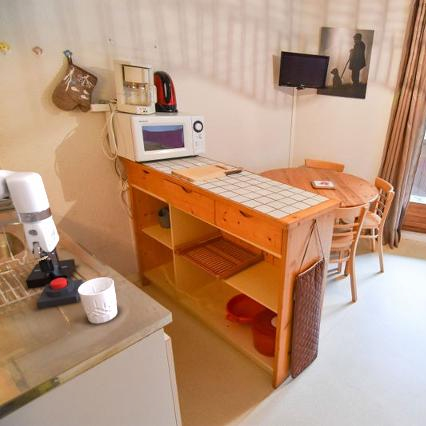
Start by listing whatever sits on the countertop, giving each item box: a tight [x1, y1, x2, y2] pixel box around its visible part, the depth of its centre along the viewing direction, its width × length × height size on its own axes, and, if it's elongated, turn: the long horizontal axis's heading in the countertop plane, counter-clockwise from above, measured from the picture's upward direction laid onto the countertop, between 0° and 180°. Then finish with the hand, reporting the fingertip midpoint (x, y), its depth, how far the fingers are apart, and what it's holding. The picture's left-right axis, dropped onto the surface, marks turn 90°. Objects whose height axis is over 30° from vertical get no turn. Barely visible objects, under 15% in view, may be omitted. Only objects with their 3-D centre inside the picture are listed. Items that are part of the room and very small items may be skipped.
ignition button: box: [50, 278, 67, 290], centre depth 92 cm, size 4×4×2 cm
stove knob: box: [41, 250, 59, 272], centre depth 100 cm, size 4×4×6 cm
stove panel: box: [25, 258, 76, 290], centre depth 101 cm, size 10×10×3 cm
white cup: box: [78, 276, 118, 325], centre depth 86 cm, size 8×8×10 cm
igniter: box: [36, 278, 84, 310], centre depth 93 cm, size 9×9×4 cm
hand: (50, 266), depth 101 cm, fingers open, 4 cm apart
